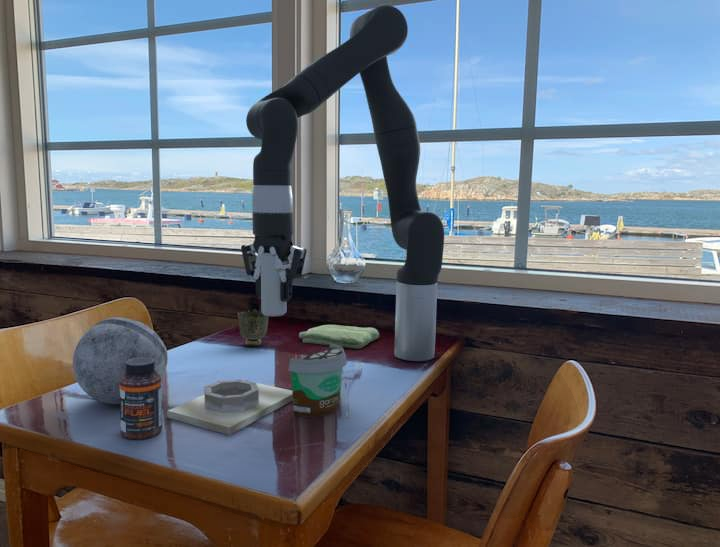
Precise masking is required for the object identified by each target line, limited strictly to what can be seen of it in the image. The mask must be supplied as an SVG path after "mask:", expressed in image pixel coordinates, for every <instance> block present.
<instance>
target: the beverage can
mask: <svg viewBox="0 0 720 547" xmlns="http://www.w3.org/2000/svg"><path fill="white" fill-rule="evenodd" d="M262 254H263V255H261V299H260V302H261V304H260V305H261V306H260V308H261V310H260V312H261V313H263V315H266V316H269V317H281V316H284V315H285V314H286V313H287V312H288V311H287V302H288V301H286V302H282V301H281V282H282V281H281V278H280V274H279V271H277V270H276V263H275V256H271V255H272V253H262ZM276 260H277V259H276ZM281 263H282V264H283V265H286V261H285V262H281ZM285 271H286V269H285Z"/></svg>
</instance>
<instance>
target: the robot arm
mask: <svg viewBox="0 0 720 547" xmlns="http://www.w3.org/2000/svg"><path fill="white" fill-rule="evenodd" d="M408 29H409V28H408V22H407V19H406V17H405V16H404V14H403V12H401V10H400V9H399V8H397V7H396V6H393V5H385V4H384V5H380V6H377V7H374V8H373V9H371V10H369V11H367V12H365V13H363V14H361V15H360V16H358V17H357V18H355V19H354V20H353V21H352V23H351V26H350V29H349V38H348V39H347V40H346V41H345V42H343V43H341V44H340V45H338V46H337V47H335V48H334V49H332V50H330V51H329V52H327V53H326V54H324V55H322V56H320V57H319V58H317V59H316V60H314V61H312V63H310V64H309V65H307V66H306V67H305V68H303V69H302V70H301V71H299V72H298V73H297V74H296V75H294V76H293V77H292V78H291V79H289V81H288V82H286V83H285V84H284V85H282V86H280V87H279V88H277V89H275V90H274V91H272V92H270V93H269V94H266V96H264V97H262V98H261V99H259V100H258V101H257V102H255V103H254V104H253V105H251V107H250V108H249V110H248V112H247V115H246V118H245V120H246V122H245V124H246V128H247V130H248V132H249V133H250V135H252V137H254V138H255V139H258V140H261V146H260V147H261V148H260V151H259V152H258V154H256V155H255V156H254V158H253V163H252V164H253V166H252V180H253V183H252V186H253V187H252V188H253V189H252V196H251V198H252V200H251V209H252V212H251V213H252V214H251V215H252V234H253V235H254V240H253V242H252V243H250V244H249V243H247V244H242V245H240V246H241V247H240V250H241V253H242V254H241V256H242V260H243V264H244V268H245V274H246V276H251V277H253V279H255V294H256V297H257V299H258V300H261V255H263V254H262V253H272V255H271V256H275V263H276V270H277V271H279V274H280V278H281V281H282V282H281V301H282V302H286V301H287V302H290V301H291V298H292V297H293V281H294V280H297V279H300V278H302V276H303V271H304V266H305V261H306V256H307V252H308V250H307V248H306V247H298V246H295V245H294V242H293V240H292V237H293V234H294V196H293V190H292V188H293V187H292V160H293V156H294V152H295V148H296V144H297V138H298V130H299V119H298V118H300V117H303V116H305V115H309V114H311V113H312V112H314V111H315V110H316V109H318V108H319V107H320V106H321V105H323V104H324V103H325V102H327V100H328V99H329V100H330V98H331V97H332V96H334V94H336V93H337V92H339V90H341V89H342V88H343V87H344V86H345V85H346V84H347V83H349V82H350V81H351V80H352V79H354V78H355V77H356V76H357V75H360V76H359V77H360V78H361V79H360V80H361V83H362V85H363V86H362V87H363V89H364V92H365V97H366V101H367V102H366V103H367V106H368V110H369V115H370V119H371V123H372V129H373V130H372V131H373V135H374V139H375V143H376V144H375V145H376V149H377V152H378V157H379V161H380V165H381V171H382V175H383V179H384V185H385V188H386V194H387V200H388V210H389V218H390V219H389V220H390V227H391V233H392V238H393V240H394V242H395V243H396V245H397V246H399V247H400V249H402V250H405V251H406V256H405V262H404V264H403V265H402V266H401V267H399V268H398V269H397V271H396V283H395V284H396V291H395V292H396V293H395V318H394V319H395V321H394V323H395V325H394V352H393V353H394V354H393V355H394V357H396V358H398V359H401V360H403V361H408V362H409V361H411V362H424V361H430V360H432V359H434V358H435V356H436V354H435V352H436V351H435V350H436V333H437V332H436V330H437V329H436V328H437V303H438V301H437V299H438V279H439V275H440V273H441V270H442V266H443V256H444V247H445V246H444V245H445V228H444V223H443V220H442V219H441V218H440V216H439V215H437V214H436V213H435V212H432V211H428V210H427V211H426V210H422V208H421V205H420V202H419V201H420V200H419V196H418V191H417V178H418V177H417V175H418V171H419V164H420V157H421V142H420V137H419V132H418V127H417V123H416V119H415V115H414V114H413V111H412V110H411V108H410V107H409V105H408V103H407V101H405V99H404V98H403V97H402V95H401V94H400V92H399V91H398V89H397V88H396V87H395V84H394V82H393V79H392V76H391V72H390V66H389V63H388V56H390V55H393V54H394V53H396V52H398V51H399V50H400V49H401V48H403V46H404V44H405V43H406V40H407V37H408V32H409V30H408ZM290 256H291V258H292V259H290ZM276 259H277V260H276ZM285 261H286V265H283V264H282V263H281V262H285ZM285 269H286V271H285Z"/></svg>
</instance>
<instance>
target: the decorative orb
mask: <svg viewBox="0 0 720 547" xmlns="http://www.w3.org/2000/svg"><path fill="white" fill-rule="evenodd" d="M141 357H145V358H152V359H153V360H154V366H155V368H154V370H155V371H156V372H158V373H159V374H160V376H161V379H162V378H163V376H164V374H165V370H166V366H167V364H168V361H169V360H168V359H169V358H168V350H167V348H166V344H165V343H164V341H163V340H162V339H161V337H159V335H158V334H157V333H156V331H155V330H153V329H152V328H151V327H150V326H148V325H146V324H145V323H142V322H141V321H138V320H135V319H132V318H126V317H120V316H119V317H118V316H117V317H116V316H115V317H108V318H104V319H103V320H100V321H98V322H97V323H95V325H94V326H92V327H90V328H89V329H88V330H87V331H86V332H85V333H84V334H83V335H82V336H81V338H80V339H79V340H78V343H77V345H76V347H75V350H74V352H73V356H72V371H73V375H74V377H75V380H76V383H77V384H78V385H79V387H80V388H81V389H82V390H83V392H85V393H86V394H87V396H89V397H90V398H93V399H94V400H96V401H98V402H101V403H104V404H108V405H120V393H119V392H120V391H119V382H120V378H121V377H122V376H123V375H124V374H126V372H127V371H126V362H127V361H128V360H130V359H134V358H141Z"/></svg>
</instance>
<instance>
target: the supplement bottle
mask: <svg viewBox="0 0 720 547" xmlns="http://www.w3.org/2000/svg"><path fill="white" fill-rule="evenodd" d="M154 368H155V366H154V360H153V359H152V358H145V357H141V358H134V359H130V360H128V361H127V362H126V371H127V372H126V374H124V375H123V376H122V377H121V378H120V382H119V391H120V392H119V393H120V404H119V424H120V425H119V426H120V434H121V435H122V436H123V437H125V438H126V439H130V440H144V439H149V438H152V437H154V436H156V435H157V434H159V433H160V432H161V431H162V429H163V411H162V410H163V407H162V406H163V403H162V401H163V400H162V399H163V398H162V397H163V396H162V392H163V391H162V390H163V389H162V388H163V387H162V378H161V376H160V374H159V373H158V372H156V371H155V370H154Z"/></svg>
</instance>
